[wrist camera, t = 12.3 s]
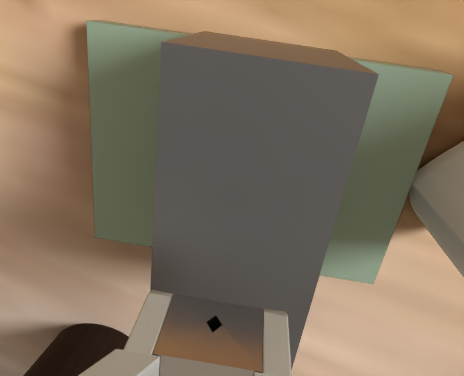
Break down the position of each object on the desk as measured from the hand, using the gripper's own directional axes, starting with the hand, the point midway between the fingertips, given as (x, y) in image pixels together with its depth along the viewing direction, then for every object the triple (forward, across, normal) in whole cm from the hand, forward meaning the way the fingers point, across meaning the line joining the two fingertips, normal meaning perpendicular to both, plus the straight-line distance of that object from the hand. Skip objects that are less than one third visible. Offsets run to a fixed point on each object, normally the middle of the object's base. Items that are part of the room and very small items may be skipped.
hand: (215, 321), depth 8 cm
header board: (+10, 0, 0) cm, 10 cm away
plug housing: (+9, 0, 0) cm, 9 cm away
